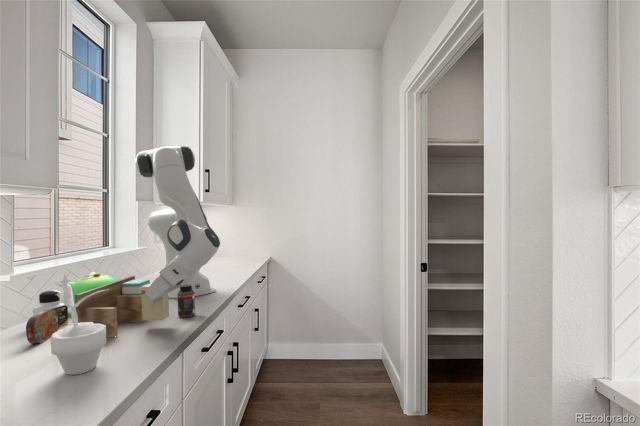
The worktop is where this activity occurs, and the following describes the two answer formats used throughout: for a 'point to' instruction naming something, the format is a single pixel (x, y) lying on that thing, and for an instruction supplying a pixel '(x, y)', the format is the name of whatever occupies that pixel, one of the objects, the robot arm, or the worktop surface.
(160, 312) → the book box
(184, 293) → the supplement bottle
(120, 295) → the pantry shelf
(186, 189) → the robot arm
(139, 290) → the teal tall rectangular block
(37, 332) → the tin
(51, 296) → the medicine bottle
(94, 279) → the toy bird
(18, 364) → the worktop surface
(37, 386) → the worktop surface
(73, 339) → the potted plant
